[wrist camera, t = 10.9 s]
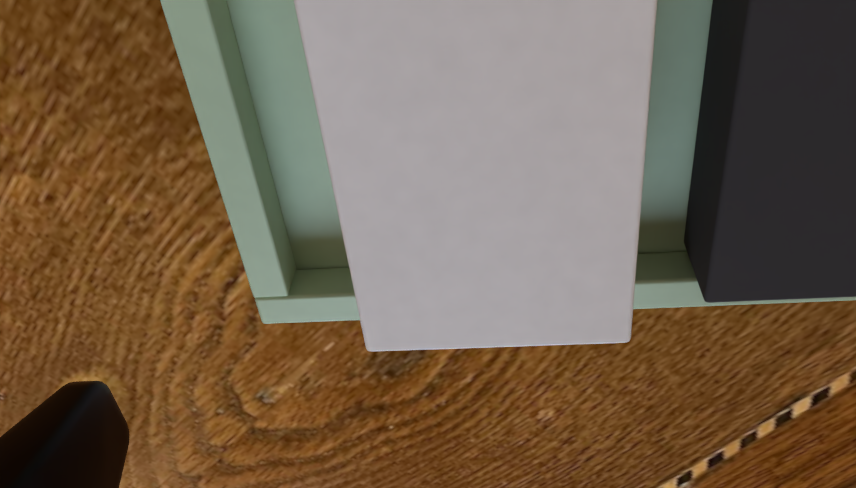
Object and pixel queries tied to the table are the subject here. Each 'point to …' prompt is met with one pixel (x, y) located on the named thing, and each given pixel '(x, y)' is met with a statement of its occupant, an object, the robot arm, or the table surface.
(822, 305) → the table surface
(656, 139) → the tray
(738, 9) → the black pad
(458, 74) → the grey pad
